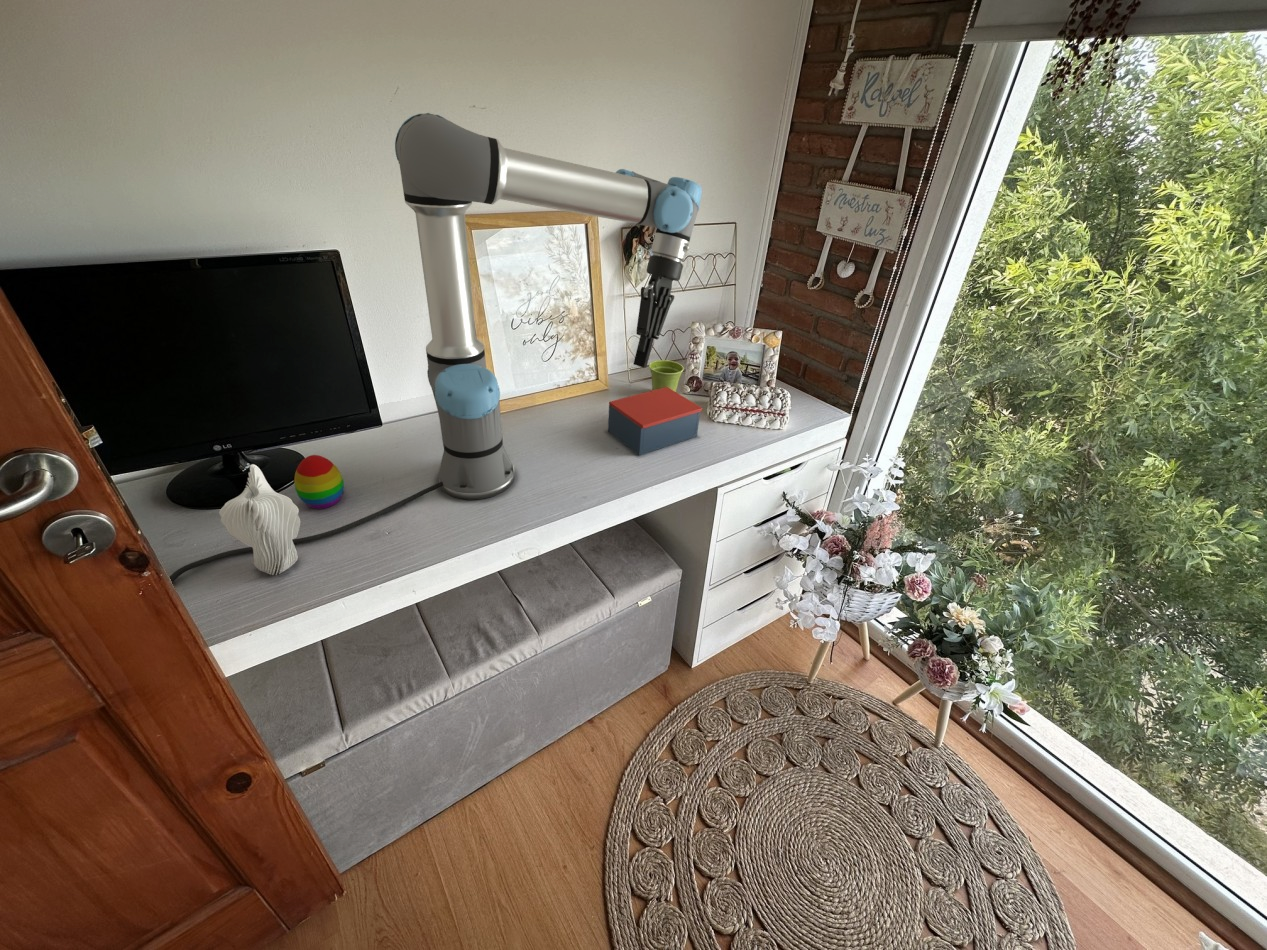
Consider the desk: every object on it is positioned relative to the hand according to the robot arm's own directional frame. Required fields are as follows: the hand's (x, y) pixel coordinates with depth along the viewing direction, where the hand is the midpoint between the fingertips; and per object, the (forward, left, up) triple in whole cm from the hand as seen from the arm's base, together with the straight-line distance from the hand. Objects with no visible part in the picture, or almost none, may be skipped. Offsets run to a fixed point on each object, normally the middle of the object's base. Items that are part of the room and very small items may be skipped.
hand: (639, 365), depth 131 cm
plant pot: (+20, +14, -18) cm, 31 cm away
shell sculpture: (-78, -7, -18) cm, 80 cm away
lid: (+4, -2, -11) cm, 12 cm away
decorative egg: (-68, +9, -18) cm, 71 cm away
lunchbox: (+4, -2, -18) cm, 19 cm away
